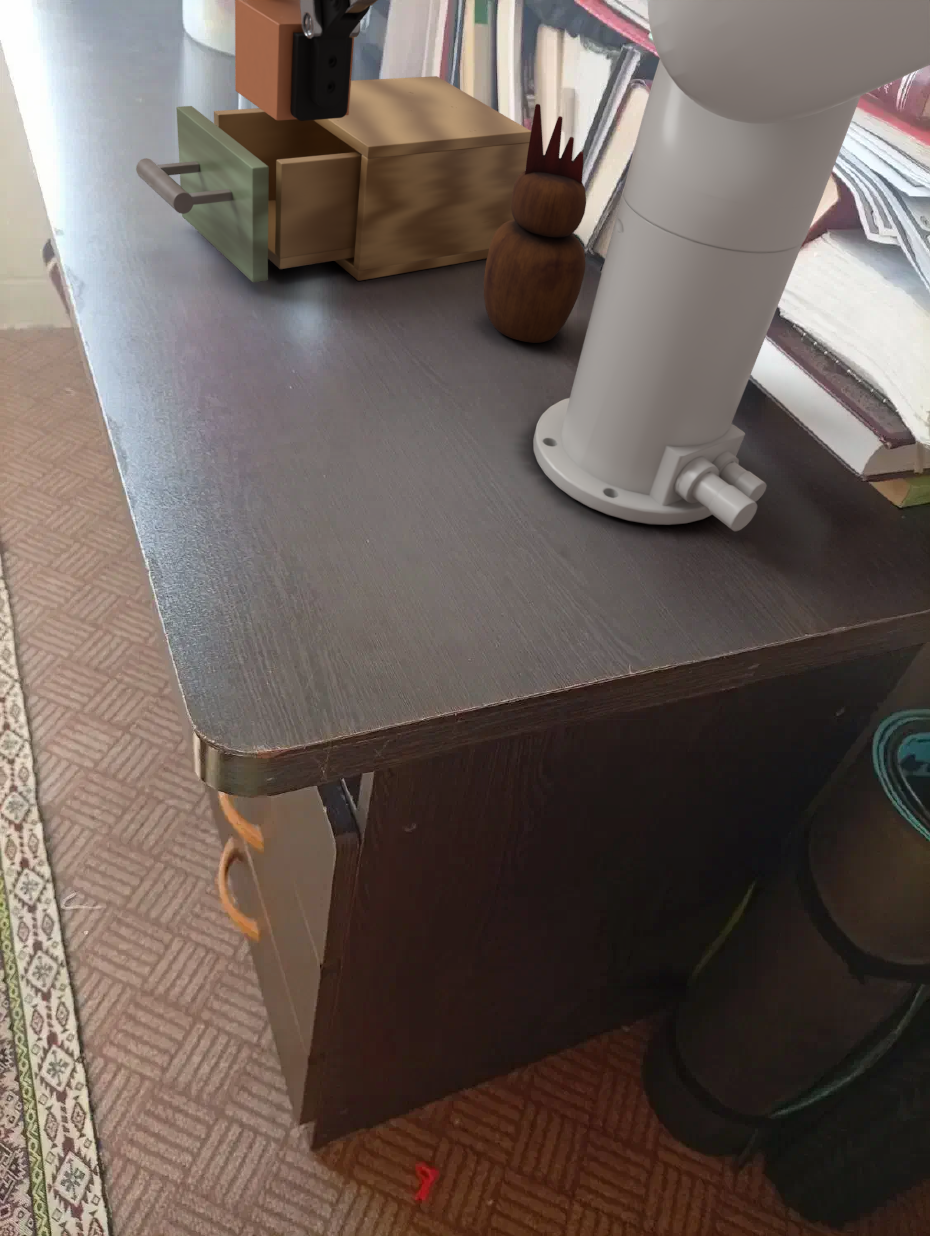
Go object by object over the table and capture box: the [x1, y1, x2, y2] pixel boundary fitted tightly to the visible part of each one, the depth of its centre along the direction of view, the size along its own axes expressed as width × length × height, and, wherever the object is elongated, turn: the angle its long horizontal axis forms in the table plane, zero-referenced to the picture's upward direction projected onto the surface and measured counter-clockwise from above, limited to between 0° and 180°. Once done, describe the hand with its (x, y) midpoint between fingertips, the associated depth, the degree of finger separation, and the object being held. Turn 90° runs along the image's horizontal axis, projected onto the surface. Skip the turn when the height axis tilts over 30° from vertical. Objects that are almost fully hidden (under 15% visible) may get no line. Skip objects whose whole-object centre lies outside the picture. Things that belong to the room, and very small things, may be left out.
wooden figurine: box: [483, 103, 587, 344], centre depth 65 cm, size 7×6×15 cm
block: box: [234, 0, 355, 121], centre depth 52 cm, size 4×4×4 cm
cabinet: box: [314, 75, 531, 281], centre depth 76 cm, size 15×13×10 cm
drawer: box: [135, 105, 362, 283], centre depth 70 cm, size 18×11×8 cm, turn 126°
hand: (293, 95), depth 53 cm, fingers closed on block, 4 cm apart
